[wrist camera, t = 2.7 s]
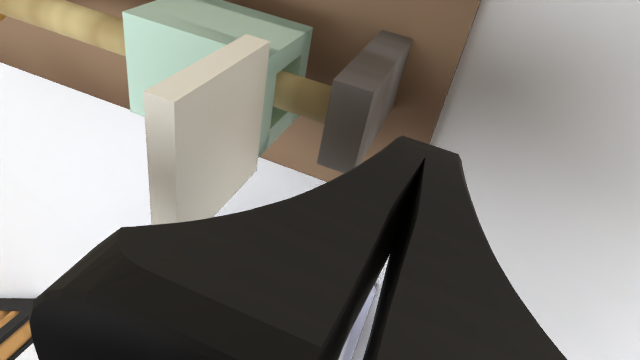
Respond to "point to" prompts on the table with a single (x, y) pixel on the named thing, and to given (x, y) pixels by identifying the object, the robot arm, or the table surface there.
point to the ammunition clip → (14, 327)
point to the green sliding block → (207, 97)
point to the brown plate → (290, 90)
